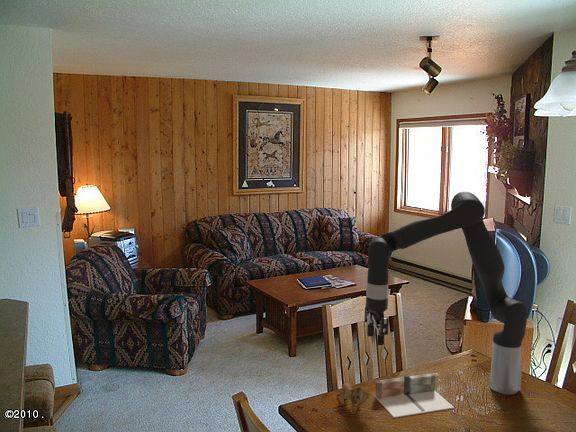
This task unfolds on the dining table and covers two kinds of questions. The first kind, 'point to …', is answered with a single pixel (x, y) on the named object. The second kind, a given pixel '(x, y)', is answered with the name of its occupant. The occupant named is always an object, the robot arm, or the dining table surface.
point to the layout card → (414, 403)
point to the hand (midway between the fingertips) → (375, 340)
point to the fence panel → (389, 387)
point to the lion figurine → (354, 396)
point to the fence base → (419, 383)
